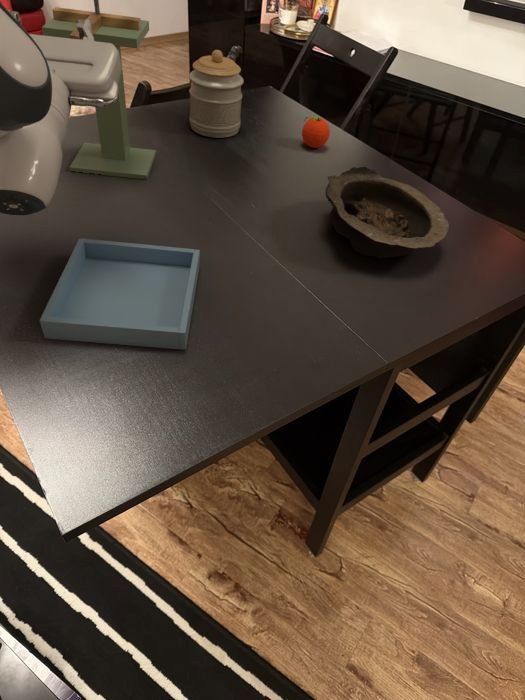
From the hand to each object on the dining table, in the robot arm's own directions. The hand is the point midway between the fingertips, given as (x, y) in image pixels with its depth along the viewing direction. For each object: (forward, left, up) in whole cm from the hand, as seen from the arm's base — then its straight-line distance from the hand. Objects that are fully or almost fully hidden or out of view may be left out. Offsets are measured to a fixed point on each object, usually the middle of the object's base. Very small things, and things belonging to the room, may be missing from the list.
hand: (50, 19), depth 66 cm
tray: (+12, -21, -32) cm, 40 cm away
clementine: (+45, +43, -32) cm, 70 cm away
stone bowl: (+56, +4, -32) cm, 65 cm away
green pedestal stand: (0, +23, -32) cm, 39 cm away
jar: (+20, +47, -32) cm, 61 cm away
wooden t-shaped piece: (0, +17, -6) cm, 18 cm away
